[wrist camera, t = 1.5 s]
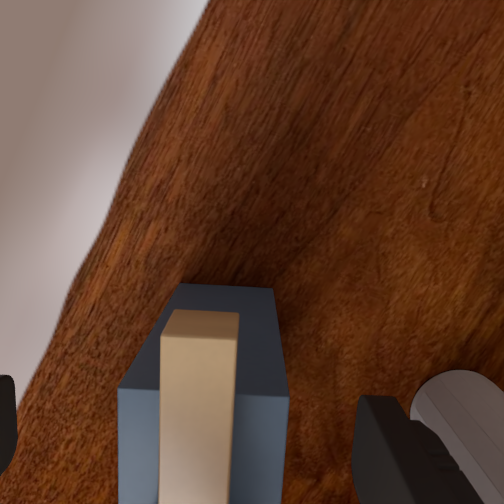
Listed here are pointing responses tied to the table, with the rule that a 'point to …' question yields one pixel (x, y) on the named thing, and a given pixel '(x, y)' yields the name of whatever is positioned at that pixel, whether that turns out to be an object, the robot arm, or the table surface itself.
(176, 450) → the brush
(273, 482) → the stand
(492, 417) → the bottle
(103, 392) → the table surface
